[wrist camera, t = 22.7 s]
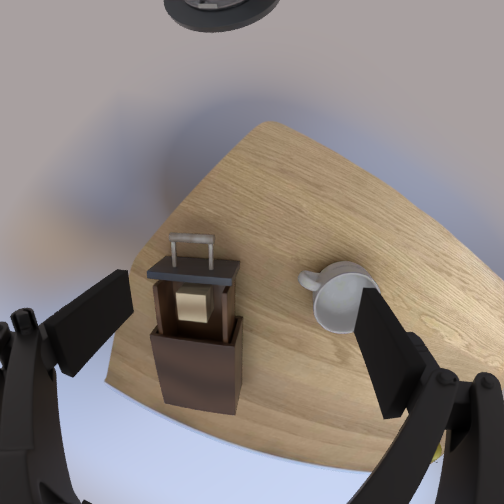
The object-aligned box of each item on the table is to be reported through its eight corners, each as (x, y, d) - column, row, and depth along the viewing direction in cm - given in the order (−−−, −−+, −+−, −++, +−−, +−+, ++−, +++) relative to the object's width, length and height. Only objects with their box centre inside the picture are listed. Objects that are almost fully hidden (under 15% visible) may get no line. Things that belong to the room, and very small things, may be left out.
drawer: (164, 225, 46) (143, 236, 39) (240, 228, 45) (232, 240, 38) (173, 333, 53) (158, 356, 45) (238, 342, 52) (232, 367, 44)
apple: (434, 434, 57) (444, 457, 48) (437, 435, 60) (447, 457, 52) (413, 447, 59) (422, 470, 50) (418, 447, 62) (426, 469, 54)
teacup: (379, 279, 46) (394, 299, 38) (339, 322, 49) (347, 346, 41) (323, 231, 45) (331, 244, 37) (282, 279, 48) (282, 300, 40)
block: (185, 280, 48) (175, 292, 43) (212, 283, 47) (205, 295, 42) (187, 306, 49) (178, 319, 44) (214, 308, 49) (207, 322, 44)
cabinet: (169, 308, 52) (149, 334, 43) (242, 316, 51) (234, 346, 42) (178, 374, 57) (164, 403, 48) (241, 383, 56) (235, 415, 47)
